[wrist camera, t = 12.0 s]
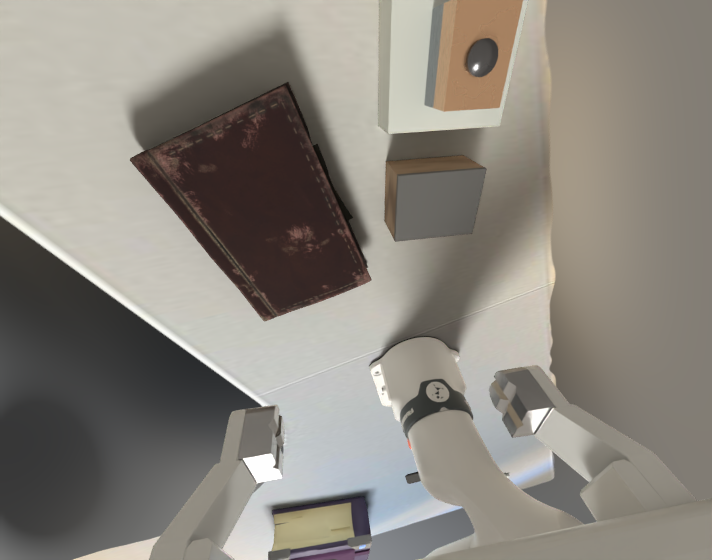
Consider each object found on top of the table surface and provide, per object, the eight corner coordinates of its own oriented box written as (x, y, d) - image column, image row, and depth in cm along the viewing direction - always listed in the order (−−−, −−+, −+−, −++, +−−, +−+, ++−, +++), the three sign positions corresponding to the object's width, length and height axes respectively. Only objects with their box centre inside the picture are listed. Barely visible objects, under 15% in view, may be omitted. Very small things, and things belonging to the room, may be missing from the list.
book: (369, 493, 103) (377, 546, 91) (361, 532, 129) (366, 577, 118) (270, 508, 98) (266, 566, 87) (283, 546, 124) (281, 593, 113)
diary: (264, 302, 48) (260, 325, 44) (143, 150, 33) (120, 163, 29) (371, 261, 45) (377, 280, 41) (295, 78, 30) (293, 81, 26)
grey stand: (477, 119, 35) (499, 126, 31) (378, 125, 34) (388, 133, 30) (503, -24, 28) (537, -39, 24) (379, -22, 27) (392, -37, 23)
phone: (405, 476, 96) (449, 465, 96) (404, 473, 97) (448, 462, 97) (407, 484, 101) (450, 473, 100) (407, 481, 101) (449, 471, 101)
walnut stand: (452, 214, 42) (472, 233, 37) (384, 220, 41) (395, 241, 36) (463, 155, 37) (486, 168, 32) (385, 161, 36) (398, 176, 32)
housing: (489, 6, 25) (527, -6, 21) (472, 102, 29) (502, 108, 25) (432, 8, 25) (459, -4, 20) (424, 105, 29) (445, 112, 24)
